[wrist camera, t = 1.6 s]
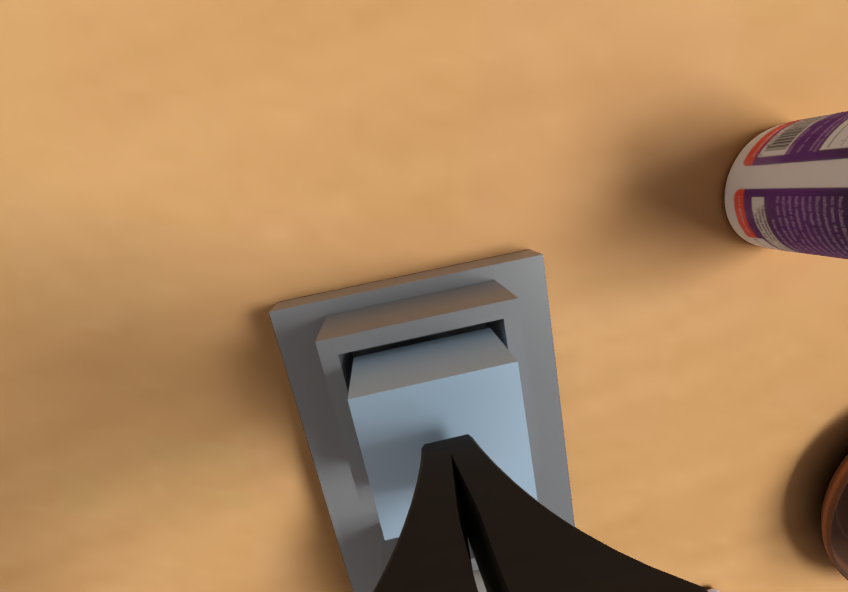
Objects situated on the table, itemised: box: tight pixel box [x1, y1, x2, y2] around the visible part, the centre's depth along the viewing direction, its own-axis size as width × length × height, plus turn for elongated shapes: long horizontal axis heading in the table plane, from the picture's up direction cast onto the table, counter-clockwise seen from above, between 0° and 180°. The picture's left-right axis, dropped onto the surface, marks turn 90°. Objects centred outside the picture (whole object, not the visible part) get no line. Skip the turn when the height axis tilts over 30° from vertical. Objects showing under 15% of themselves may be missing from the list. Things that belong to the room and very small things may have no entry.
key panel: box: [269, 250, 575, 592], centre depth 18 cm, size 18×11×4 cm, turn 11°
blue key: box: [347, 328, 538, 540], centre depth 13 cm, size 5×5×3 cm
